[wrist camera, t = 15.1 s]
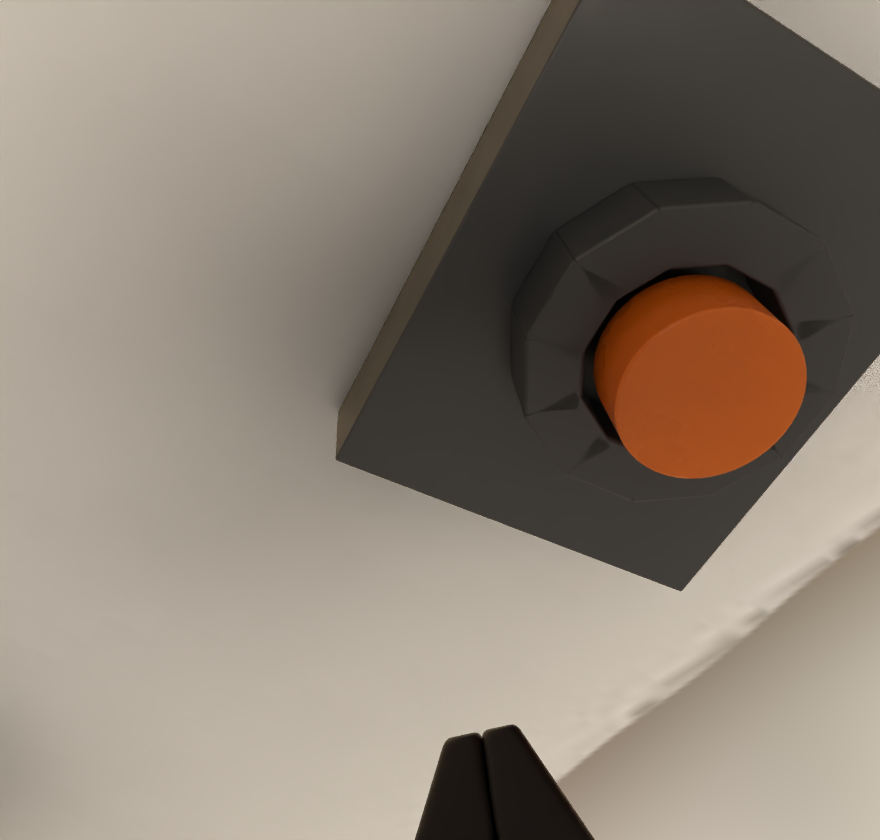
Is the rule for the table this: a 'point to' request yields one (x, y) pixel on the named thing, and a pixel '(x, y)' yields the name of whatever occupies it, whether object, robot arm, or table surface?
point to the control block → (625, 270)
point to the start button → (698, 376)
